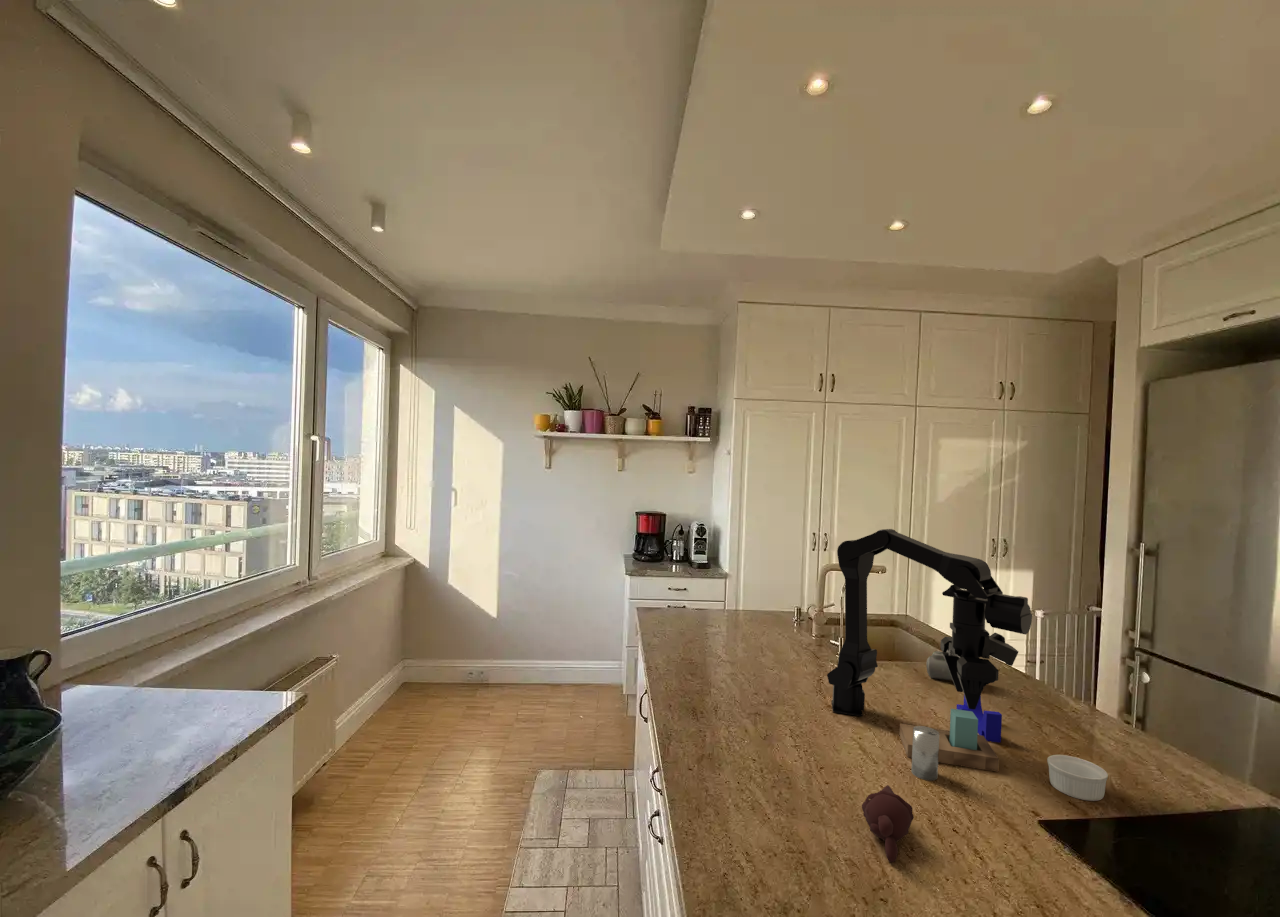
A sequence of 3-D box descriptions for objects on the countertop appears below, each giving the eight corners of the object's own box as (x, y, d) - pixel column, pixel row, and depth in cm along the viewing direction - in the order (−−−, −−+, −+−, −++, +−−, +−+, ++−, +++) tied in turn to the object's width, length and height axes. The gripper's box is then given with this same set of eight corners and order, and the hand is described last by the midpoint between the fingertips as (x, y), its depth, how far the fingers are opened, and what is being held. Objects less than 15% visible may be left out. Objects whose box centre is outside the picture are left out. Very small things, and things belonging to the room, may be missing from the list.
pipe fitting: (980, 681, 161) (976, 643, 161) (976, 692, 155) (972, 653, 155) (932, 675, 169) (928, 639, 169) (926, 685, 162) (922, 648, 162)
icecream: (859, 765, 100) (854, 821, 87) (906, 765, 98) (909, 823, 84) (869, 806, 100) (865, 869, 86) (916, 807, 97) (920, 872, 84)
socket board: (907, 757, 118) (907, 744, 118) (899, 735, 127) (899, 723, 127) (998, 771, 113) (998, 758, 113) (983, 747, 123) (983, 735, 123)
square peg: (954, 756, 118) (955, 716, 118) (949, 747, 122) (950, 708, 122) (976, 760, 117) (978, 719, 117) (970, 751, 121) (972, 711, 121)
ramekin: (1035, 781, 111) (1036, 758, 111) (1065, 773, 114) (1066, 750, 114) (1087, 808, 102) (1088, 782, 102) (1118, 798, 106) (1119, 774, 106)
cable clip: (956, 717, 138) (957, 691, 138) (976, 719, 138) (977, 693, 138) (977, 740, 127) (979, 712, 127) (1000, 743, 126) (1001, 714, 126)
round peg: (913, 777, 110) (915, 734, 110) (909, 766, 114) (911, 724, 114) (939, 782, 108) (941, 738, 109) (934, 770, 113) (936, 728, 113)
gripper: (1031, 639, 108) (1028, 725, 108) (998, 615, 126) (996, 689, 126) (963, 632, 111) (960, 716, 111) (941, 609, 129) (938, 681, 129)
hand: (965, 700), depth 119 cm, fingers open, 9 cm apart
